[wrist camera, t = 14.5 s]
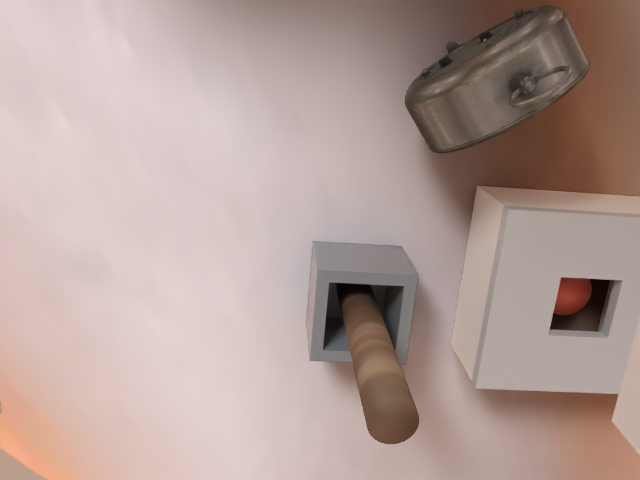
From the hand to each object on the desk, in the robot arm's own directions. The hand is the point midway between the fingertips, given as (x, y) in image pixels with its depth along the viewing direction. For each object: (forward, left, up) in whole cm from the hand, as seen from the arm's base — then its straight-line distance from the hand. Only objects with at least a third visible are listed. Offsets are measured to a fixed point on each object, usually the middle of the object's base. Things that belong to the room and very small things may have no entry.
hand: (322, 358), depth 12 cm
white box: (+11, +22, -35) cm, 42 cm away
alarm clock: (-5, +12, -35) cm, 37 cm away
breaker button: (+11, +22, -33) cm, 41 cm away
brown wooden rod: (+13, +6, -34) cm, 37 cm away
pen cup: (+13, +6, -35) cm, 37 cm away
